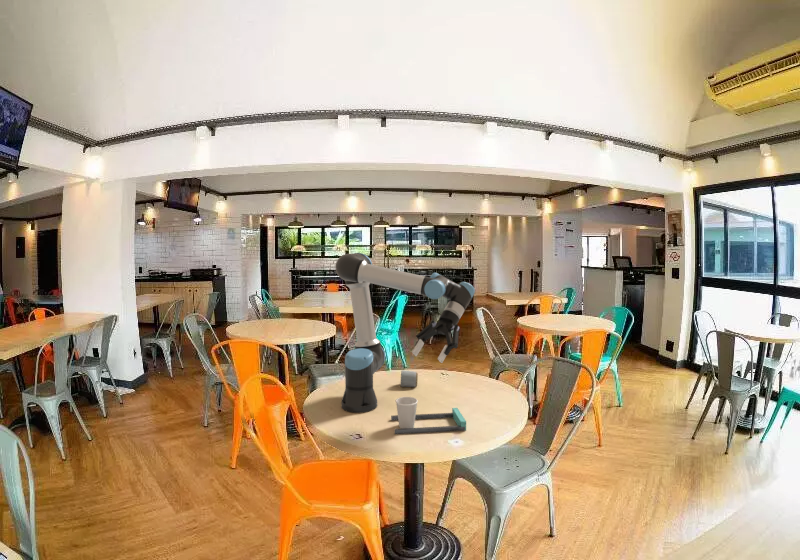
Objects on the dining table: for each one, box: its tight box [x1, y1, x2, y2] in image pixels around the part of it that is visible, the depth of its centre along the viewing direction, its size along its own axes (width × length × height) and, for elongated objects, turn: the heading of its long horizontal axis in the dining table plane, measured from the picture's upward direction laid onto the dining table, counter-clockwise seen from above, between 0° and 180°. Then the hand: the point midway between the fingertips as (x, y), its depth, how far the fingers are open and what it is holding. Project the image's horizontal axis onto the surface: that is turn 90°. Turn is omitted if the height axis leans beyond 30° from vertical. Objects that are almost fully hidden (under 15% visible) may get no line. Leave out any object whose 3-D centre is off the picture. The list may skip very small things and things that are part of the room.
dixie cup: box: [395, 396, 419, 429], centre depth 165 cm, size 8×8×10 cm
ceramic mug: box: [400, 369, 419, 388], centre depth 213 cm, size 11×8×8 cm
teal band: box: [451, 407, 467, 432], centre depth 168 cm, size 2×13×4 cm, turn 7°
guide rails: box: [390, 412, 465, 435], centre depth 167 cm, size 26×13×2 cm, turn 97°
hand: (426, 357), depth 171 cm, fingers open, 13 cm apart
